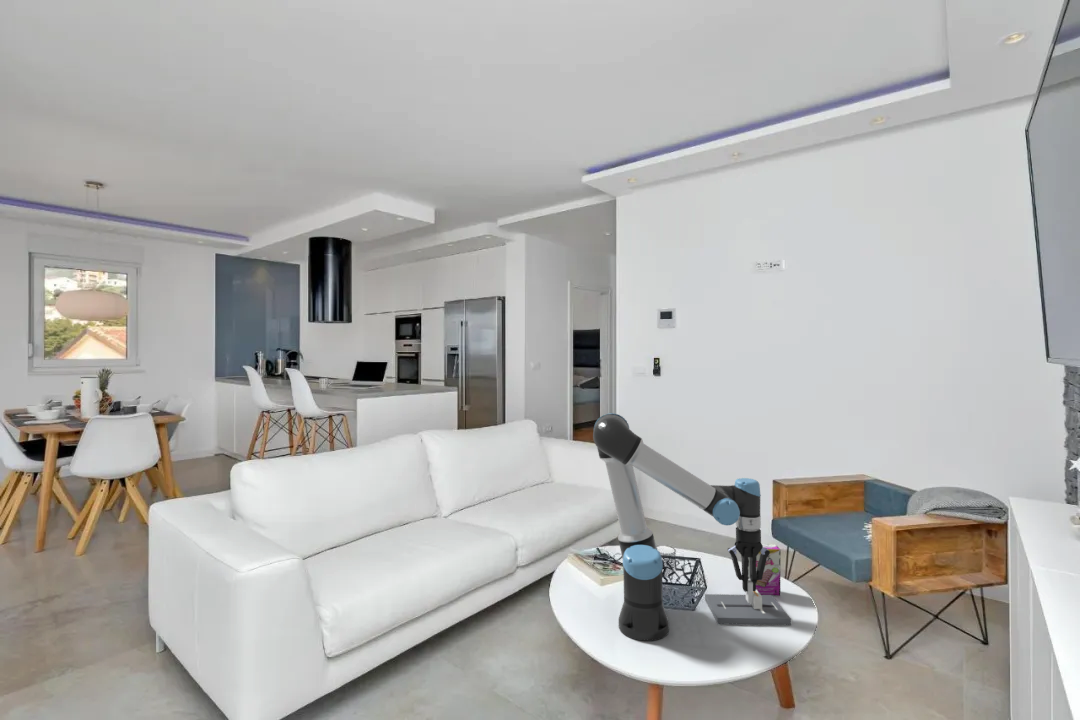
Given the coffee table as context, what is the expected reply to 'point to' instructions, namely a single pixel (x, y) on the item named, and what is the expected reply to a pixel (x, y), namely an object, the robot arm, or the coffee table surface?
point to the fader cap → (757, 600)
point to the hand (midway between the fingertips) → (749, 600)
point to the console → (746, 610)
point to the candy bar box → (769, 572)
